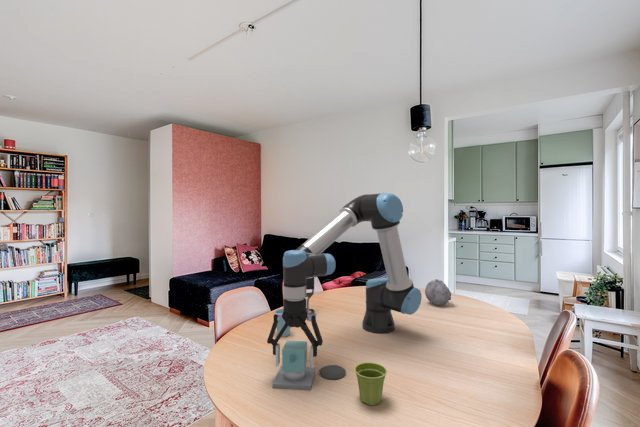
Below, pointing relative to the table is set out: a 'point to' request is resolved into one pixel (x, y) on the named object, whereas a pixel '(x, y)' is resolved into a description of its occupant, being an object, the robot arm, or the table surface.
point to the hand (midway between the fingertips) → (295, 365)
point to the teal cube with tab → (294, 356)
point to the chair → (309, 286)
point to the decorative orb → (437, 292)
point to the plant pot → (370, 381)
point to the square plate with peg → (295, 379)
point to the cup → (281, 324)
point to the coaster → (332, 372)
